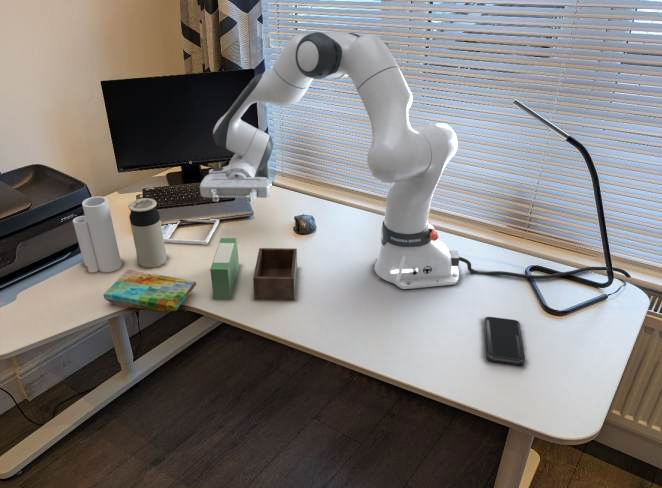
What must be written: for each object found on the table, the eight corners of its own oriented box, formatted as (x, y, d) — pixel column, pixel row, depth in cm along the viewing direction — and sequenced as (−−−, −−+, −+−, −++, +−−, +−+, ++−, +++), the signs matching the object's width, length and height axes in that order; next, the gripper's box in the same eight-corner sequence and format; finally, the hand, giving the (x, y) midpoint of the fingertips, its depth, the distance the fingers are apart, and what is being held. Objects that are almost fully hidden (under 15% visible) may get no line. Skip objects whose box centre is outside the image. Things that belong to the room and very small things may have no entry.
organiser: (297, 269, 154) (296, 248, 150) (294, 300, 142) (293, 278, 138) (260, 268, 155) (259, 247, 151) (254, 299, 142) (253, 278, 138)
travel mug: (172, 258, 160) (163, 201, 150) (153, 271, 155) (142, 212, 144) (152, 251, 164) (142, 195, 154) (132, 263, 158) (120, 206, 148)
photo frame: (165, 216, 180) (218, 218, 177) (165, 219, 180) (219, 222, 178) (148, 238, 168) (206, 241, 165) (149, 241, 169) (206, 244, 166)
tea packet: (239, 266, 156) (236, 237, 151) (230, 299, 143) (227, 269, 138) (223, 265, 156) (220, 237, 151) (213, 298, 143) (210, 268, 138)
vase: (125, 260, 160) (111, 196, 149) (115, 273, 154) (100, 208, 143) (88, 258, 161) (71, 195, 150) (77, 271, 155) (59, 206, 144)
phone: (487, 356, 120) (484, 316, 132) (486, 360, 121) (483, 319, 133) (525, 362, 119) (519, 320, 131) (524, 366, 119) (518, 324, 131)
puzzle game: (126, 267, 148) (195, 278, 143) (130, 282, 150) (197, 293, 145) (102, 291, 138) (174, 304, 133) (106, 306, 141) (177, 319, 136)
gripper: (273, 189, 168) (269, 209, 157) (206, 188, 169) (197, 209, 158) (272, 169, 165) (268, 189, 153) (204, 169, 166) (195, 188, 154)
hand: (231, 199), depth 156 cm, fingers open, 8 cm apart
